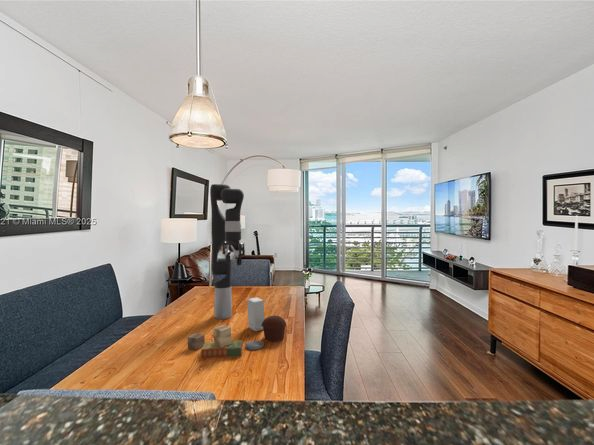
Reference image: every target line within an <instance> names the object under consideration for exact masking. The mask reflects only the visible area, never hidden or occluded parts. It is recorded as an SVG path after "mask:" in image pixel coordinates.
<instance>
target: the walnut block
mask: <svg viewBox="0 0 594 445" xmlns="http://www.w3.org/2000/svg"><path fill="white" fill-rule="evenodd" d="M205 340H206V339H205V333H196V332H195V333H193V334H191V335H188V336H187V349H189V350H194V351H198V350H200V349H202V348H203V345H204V343H205Z"/></svg>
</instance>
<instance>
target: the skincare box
mask: <svg viewBox="0 0 594 445" xmlns="http://www.w3.org/2000/svg"><path fill="white" fill-rule="evenodd" d="M246 302H247V304H246V305H247V320H248V321H247V322H248V325H247V326H248V328H249V329H250V330H252V331H253V332H258V331H264V330H263V327H262V326H261V324H262V322H263V321H264V319H266V318H265V305H264V302H265V301H264V300H263V299H262V298H259V297H257V296H256V297H251V298H247V300H246Z"/></svg>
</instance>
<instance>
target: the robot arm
mask: <svg viewBox="0 0 594 445" xmlns="http://www.w3.org/2000/svg"><path fill="white" fill-rule="evenodd" d="M210 185H211V186H210V188H209V189H210V190H209V192H210V205H211V206H210V207H211V208H210V209H211V225H210V227H211V273H212V275H213V276H223V275H224V276H223V277H222V278H221V279H218V280H216V281H215V282H214V300H213V304H214V305H213V312H214V315H213V316H214V318H215V319H218V320H225V319H226V320H227V319H230V318H231V317H232V316H233V314H232V311H233V310H232V309H233V306H232V304H233V303H232V301H233V300H232V260H231V254H232V253H234V254H235V256H236V265H237V266H242V263H243V262H242V260H243V259H242V257H245V255H246V250H245V242H244V243H243V242H242V243H240V241H241V240H242V222H241V209H242V205H243V201H244V198H245V197H244V194H245V193H244V192H243V190H242V189H240V188H232V187H230V186H229V185H228V184H217V183H215V184H210ZM218 201H222V203H223V204H227V205H228V204H229V205H231V204H232V205H233V204H235V205H234V206H233V207H231V208H227V209H225V213H224V214H225V215H223V213H222V212H221V209H220V207H219V206H218ZM221 249H222V254H223V255H224V256H225V258H220V257H219V258H218V256H219V254H220V250H221Z"/></svg>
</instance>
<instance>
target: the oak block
mask: <svg viewBox="0 0 594 445" xmlns="http://www.w3.org/2000/svg"><path fill="white" fill-rule="evenodd" d="M231 341H232V327H231V326H229V325H226V324H221V325H219V326H216V327H214V328H213V342H214V345H216V346H218V347H221V348H222V347H224V346H227V345H230V344H231Z"/></svg>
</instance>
